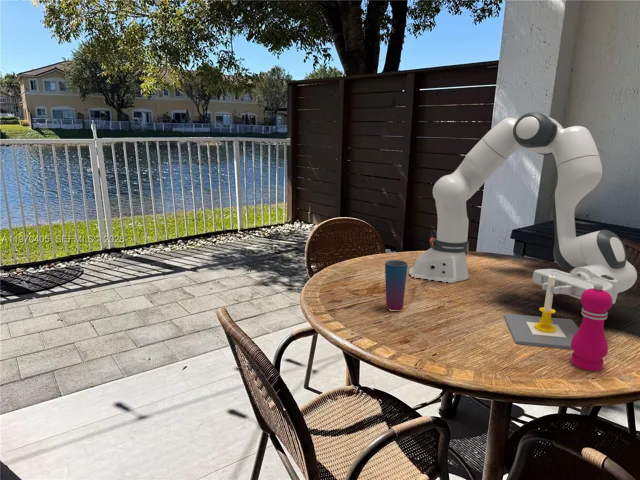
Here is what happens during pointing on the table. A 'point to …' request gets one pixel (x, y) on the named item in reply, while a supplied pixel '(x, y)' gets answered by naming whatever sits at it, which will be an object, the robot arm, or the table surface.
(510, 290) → the table surface
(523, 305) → the table surface
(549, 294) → the candle
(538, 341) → the tile
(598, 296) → the pepper mill
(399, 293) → the cup
